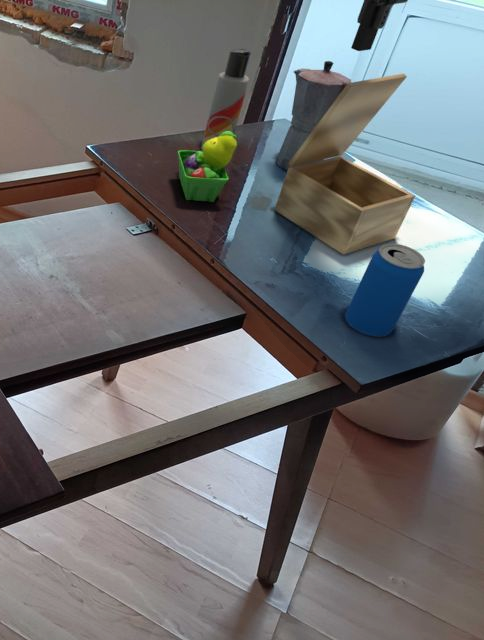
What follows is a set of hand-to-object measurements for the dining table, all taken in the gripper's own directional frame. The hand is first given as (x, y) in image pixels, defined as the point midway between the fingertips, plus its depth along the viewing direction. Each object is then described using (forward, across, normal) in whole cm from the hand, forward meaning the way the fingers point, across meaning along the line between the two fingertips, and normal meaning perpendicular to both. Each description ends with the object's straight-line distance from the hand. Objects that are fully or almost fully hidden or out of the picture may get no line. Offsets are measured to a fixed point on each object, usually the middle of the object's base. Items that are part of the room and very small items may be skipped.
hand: (360, 48), depth 105 cm
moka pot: (+28, -13, +13) cm, 33 cm away
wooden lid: (+11, +3, 0) cm, 11 cm away
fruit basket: (+28, -13, -13) cm, 33 cm away
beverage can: (+28, +29, -17) cm, 44 cm away
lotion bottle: (+28, -25, +1) cm, 37 cm away
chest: (+28, +7, 0) cm, 29 cm away
